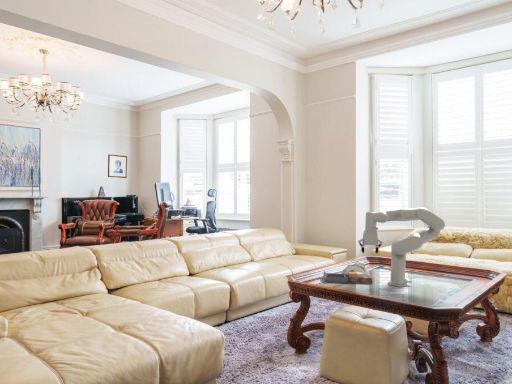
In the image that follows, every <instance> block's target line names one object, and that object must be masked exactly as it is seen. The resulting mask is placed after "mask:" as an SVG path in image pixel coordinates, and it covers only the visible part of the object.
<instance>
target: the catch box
mask: <svg viewBox="0 0 512 384" xmlns="http://www.w3.org/2000/svg"><path fill="white" fill-rule="evenodd" d="M323 279H324V281H325V282H326V283H338V284H349V282H348V278H346V275H345V276H344V274H341V273H335V272H334V273H333V272H326V270H325V271H324V270H323Z"/></svg>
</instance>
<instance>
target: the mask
mask: <svg viewBox="0 0 512 384" xmlns="http://www.w3.org/2000/svg"><path fill="white" fill-rule="evenodd" d="M348 272H362V273H363V274H366V275H369V272H368V270H367V268H366V265H365V264H364V262H362V263H360V262H359V261H356V262H354V264H348V265H347V266H346V267H344V269H343V270H342V272H340V274H344V276H345V277H346V274H348Z"/></svg>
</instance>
